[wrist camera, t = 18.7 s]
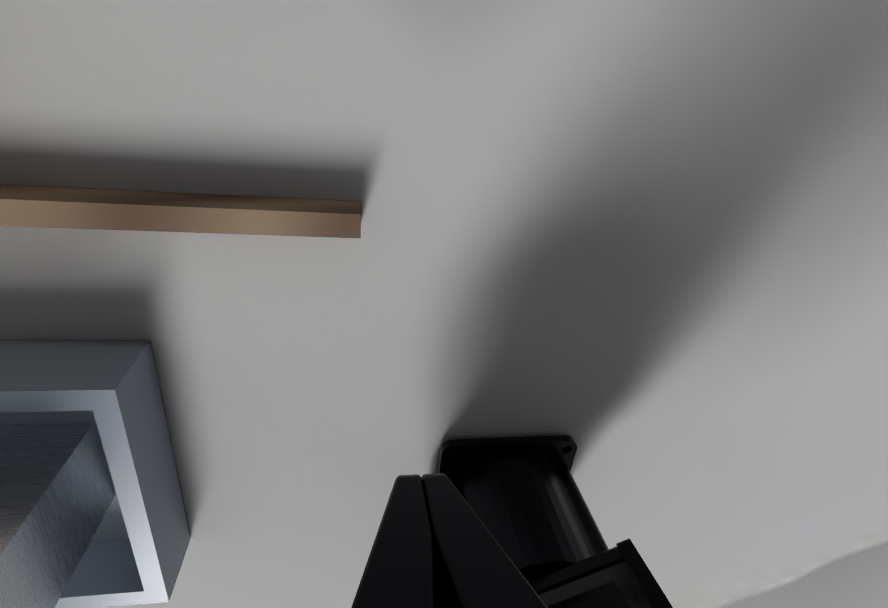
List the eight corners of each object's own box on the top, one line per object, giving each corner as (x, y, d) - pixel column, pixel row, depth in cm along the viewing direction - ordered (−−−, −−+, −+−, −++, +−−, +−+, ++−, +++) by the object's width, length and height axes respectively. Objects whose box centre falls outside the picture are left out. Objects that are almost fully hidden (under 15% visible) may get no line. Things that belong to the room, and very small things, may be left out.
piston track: (367, -226, 12) (368, -258, 11) (359, 255, 18) (359, 271, 17) (-567, -410, 9) (-721, -485, 8) (-220, 238, 15) (-275, 257, 14)
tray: (150, 340, 18) (115, 389, 16) (190, 538, 23) (168, 601, 20) (-205, 340, 16) (-313, 397, 14) (-80, 556, 21) (-142, 628, 19)
